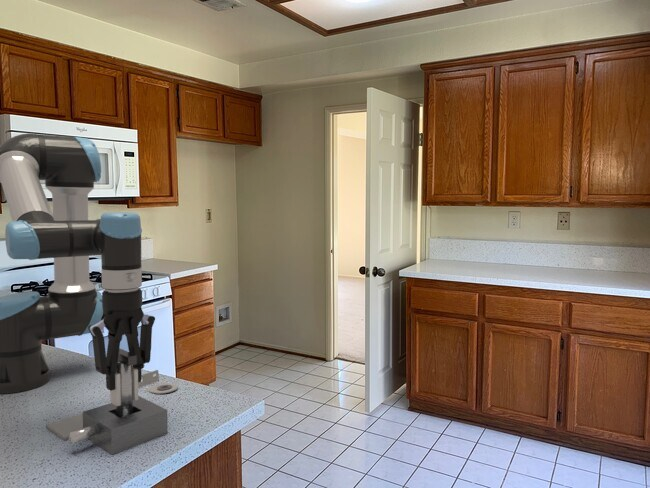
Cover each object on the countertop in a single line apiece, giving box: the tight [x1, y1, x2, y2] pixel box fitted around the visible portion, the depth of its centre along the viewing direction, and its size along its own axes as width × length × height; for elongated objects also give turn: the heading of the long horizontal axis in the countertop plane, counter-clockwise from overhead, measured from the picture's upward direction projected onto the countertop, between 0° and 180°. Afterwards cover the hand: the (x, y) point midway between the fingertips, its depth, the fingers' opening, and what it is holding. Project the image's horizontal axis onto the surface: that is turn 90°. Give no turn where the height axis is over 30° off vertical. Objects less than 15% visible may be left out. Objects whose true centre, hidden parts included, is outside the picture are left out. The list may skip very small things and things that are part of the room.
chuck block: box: [68, 395, 169, 455], centre depth 103 cm, size 12×17×5 cm
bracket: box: [138, 369, 179, 395], centre depth 130 cm, size 7×10×4 cm, turn 57°
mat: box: [45, 412, 83, 441], centre depth 108 cm, size 9×9×1 cm
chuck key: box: [116, 347, 137, 418], centre depth 104 cm, size 7×3×14 cm, turn 50°
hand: (124, 400), depth 104 cm, fingers closed on chuck key, 3 cm apart
